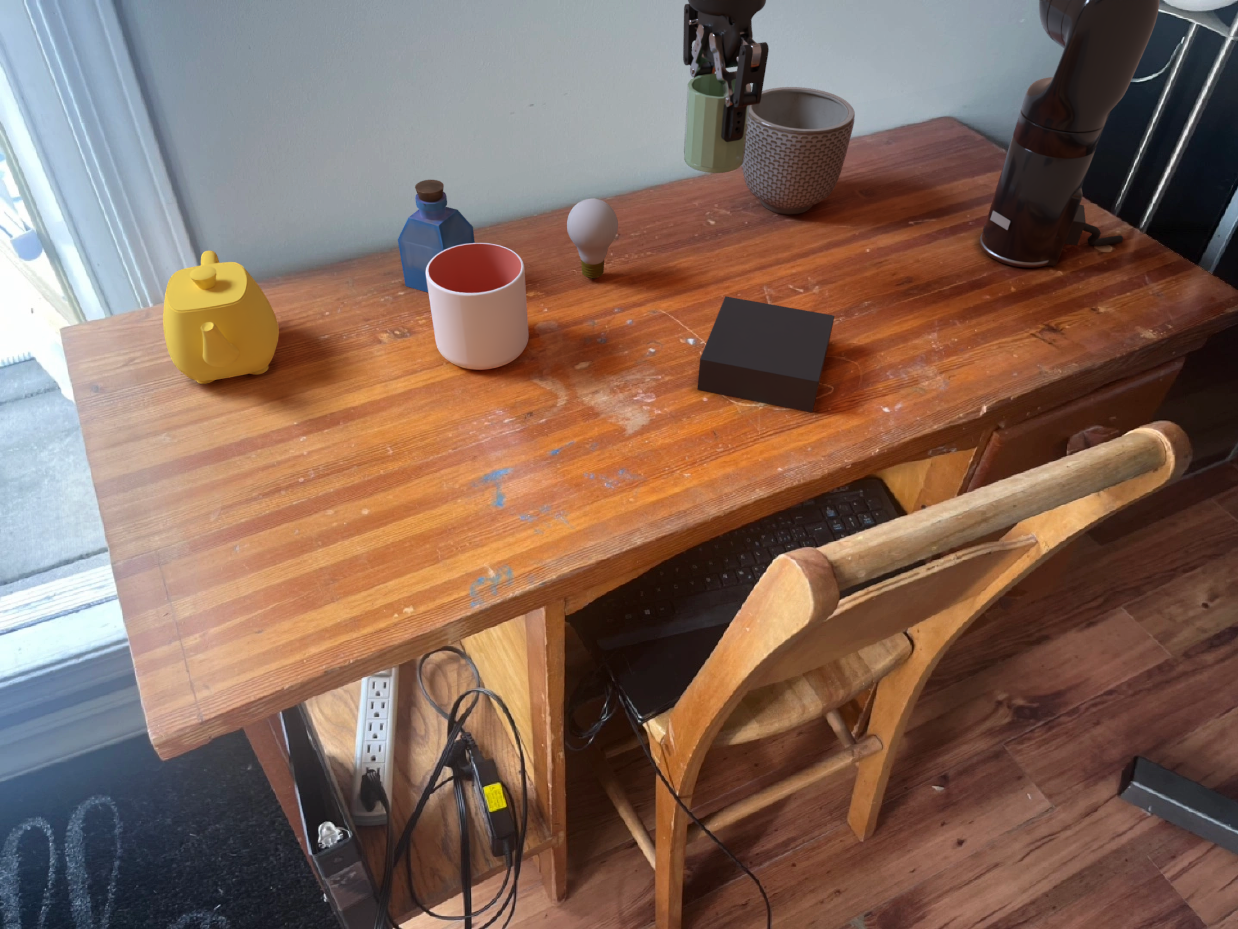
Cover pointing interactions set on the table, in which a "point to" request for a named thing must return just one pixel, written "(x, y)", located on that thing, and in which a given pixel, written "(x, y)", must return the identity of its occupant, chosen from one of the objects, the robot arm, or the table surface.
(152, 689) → the table surface
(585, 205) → the light bulb
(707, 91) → the sage cup
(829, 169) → the planter
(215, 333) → the teapot
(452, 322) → the cup
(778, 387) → the riser
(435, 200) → the perfume bottle
